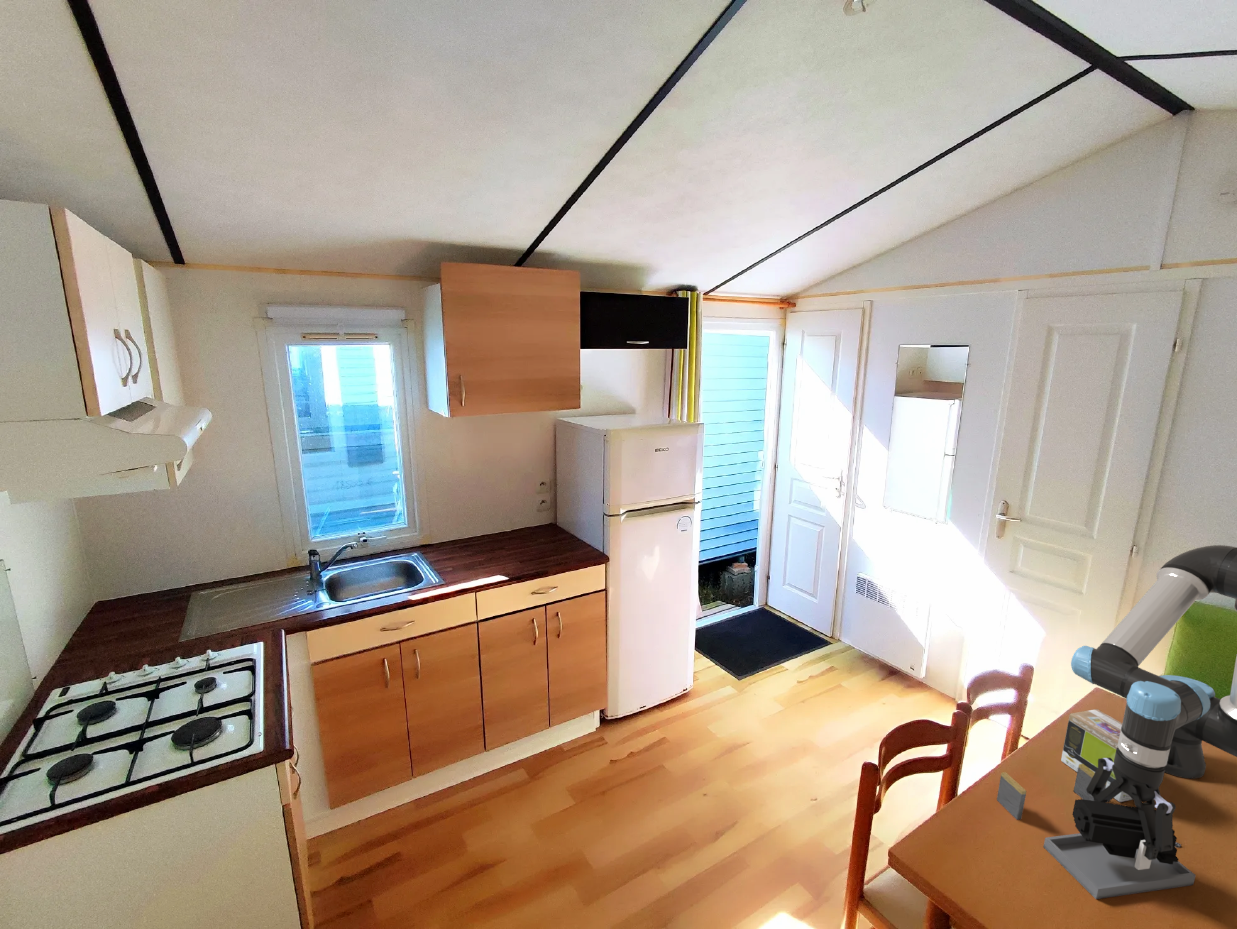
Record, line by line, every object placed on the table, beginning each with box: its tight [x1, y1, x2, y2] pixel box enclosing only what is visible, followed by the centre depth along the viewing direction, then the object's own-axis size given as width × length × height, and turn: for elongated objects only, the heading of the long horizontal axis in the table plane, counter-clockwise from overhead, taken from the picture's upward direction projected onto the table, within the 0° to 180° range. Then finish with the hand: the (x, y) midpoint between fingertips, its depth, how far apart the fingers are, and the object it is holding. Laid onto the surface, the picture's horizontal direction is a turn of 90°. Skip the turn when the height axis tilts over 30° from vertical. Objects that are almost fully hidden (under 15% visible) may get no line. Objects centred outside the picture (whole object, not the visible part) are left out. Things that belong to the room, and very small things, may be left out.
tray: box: [1043, 832, 1196, 900], centre depth 121 cm, size 23×12×2 cm, turn 98°
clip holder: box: [996, 764, 1107, 821], centre depth 136 cm, size 23×6×8 cm, turn 98°
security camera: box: [1071, 798, 1179, 864], centre depth 119 cm, size 7×18×10 cm, turn 79°
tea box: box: [1060, 708, 1133, 803], centre depth 144 cm, size 15×10×15 cm, turn 14°
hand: (1119, 848), depth 120 cm, fingers closed on security camera, 8 cm apart
